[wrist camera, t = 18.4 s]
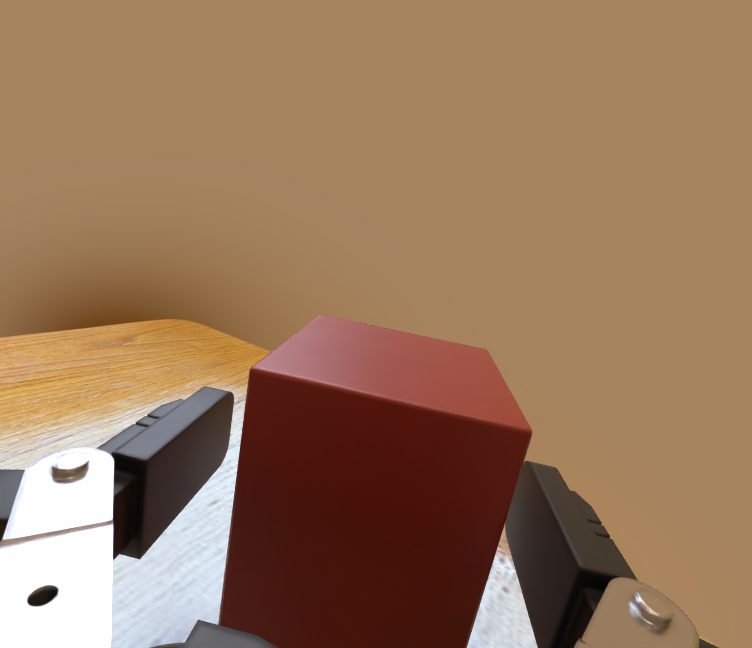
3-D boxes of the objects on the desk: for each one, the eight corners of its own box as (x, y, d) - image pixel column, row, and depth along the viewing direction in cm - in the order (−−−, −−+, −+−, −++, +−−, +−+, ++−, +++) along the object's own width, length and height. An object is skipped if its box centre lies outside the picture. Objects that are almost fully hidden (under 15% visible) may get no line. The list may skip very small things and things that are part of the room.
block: (195, 800, 10) (247, 367, 7) (271, 610, 14) (318, 313, 12) (402, 861, 9) (535, 431, 7) (409, 647, 14) (488, 349, 12)
